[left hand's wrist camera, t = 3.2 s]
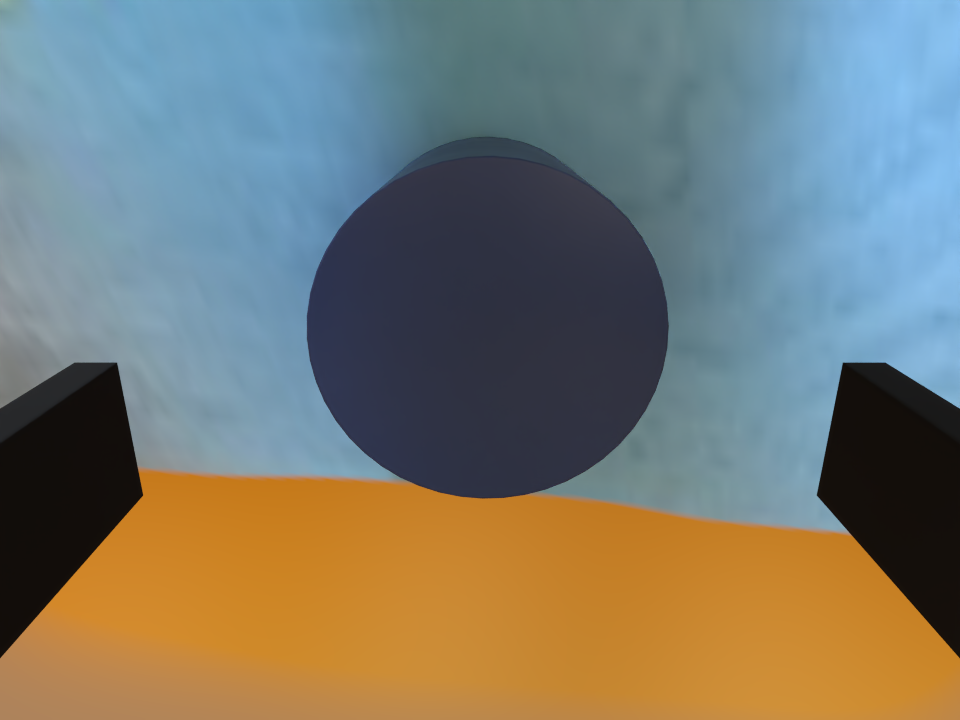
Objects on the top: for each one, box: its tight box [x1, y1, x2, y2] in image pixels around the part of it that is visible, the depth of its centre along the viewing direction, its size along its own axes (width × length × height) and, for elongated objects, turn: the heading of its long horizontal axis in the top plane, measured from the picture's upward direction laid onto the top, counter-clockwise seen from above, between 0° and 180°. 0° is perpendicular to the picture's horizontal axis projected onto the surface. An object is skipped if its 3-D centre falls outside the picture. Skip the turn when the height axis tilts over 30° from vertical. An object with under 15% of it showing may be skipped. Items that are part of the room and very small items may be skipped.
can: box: [307, 137, 669, 498], centre depth 20 cm, size 8×8×8 cm
